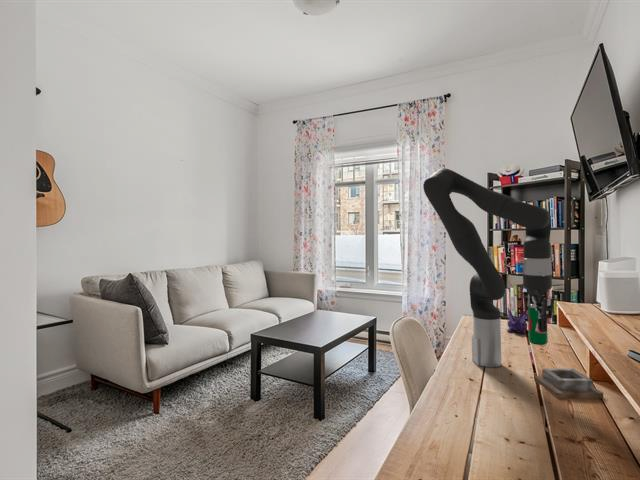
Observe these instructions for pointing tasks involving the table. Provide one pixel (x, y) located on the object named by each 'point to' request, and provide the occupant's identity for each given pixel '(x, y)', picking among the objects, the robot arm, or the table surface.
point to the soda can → (535, 328)
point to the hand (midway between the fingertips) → (537, 328)
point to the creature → (517, 322)
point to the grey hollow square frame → (567, 384)
